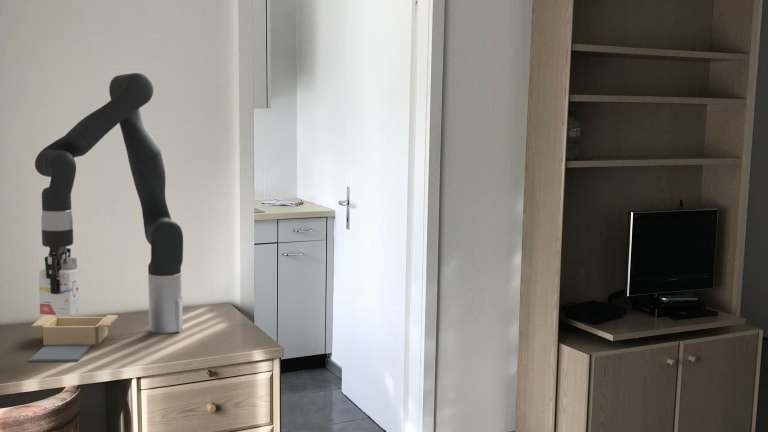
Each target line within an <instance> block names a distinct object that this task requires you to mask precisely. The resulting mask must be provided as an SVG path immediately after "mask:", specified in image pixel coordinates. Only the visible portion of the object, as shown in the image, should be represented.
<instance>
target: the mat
mask: <svg viewBox="0 0 768 432" xmlns="http://www.w3.org/2000/svg"><path fill="white" fill-rule="evenodd" d="M91 348H92V346H91V345H44V346H43V347H42V348H41V349H40V350H38V351H37V352H36V353H35V354H34V355H33V356H32V357H31V358H30V359H29V363H31V362H38V363H40V362H41V363H42V362H43V363H44V362H47V363H48V362H79V361H80V360H81V359H82V358H83V356H85V355H86V353H87V352H89V350H90V349H91Z"/></svg>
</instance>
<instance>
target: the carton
mask: <svg viewBox="0 0 768 432" xmlns="http://www.w3.org/2000/svg"><path fill="white" fill-rule="evenodd" d="M118 318H119V315H118V314H117V315H116V314H109V315H108V314H107V315H106V316H56V315H47V314H43V315H42V317H40V318H39V319H38V320H36V321H35V322H33V324H31V328H42V337H43V339H42V341H43V342H42V343H43V344H42V345H44V346H59V345H95V346H96V345H100V343H101V342H102V341H103V340H105V338H106V336H107V335H108V334H109V328H110V327H111V326H112V325H113V323H114V322H115V321H116V320H117V319H118Z"/></svg>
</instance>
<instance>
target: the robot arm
mask: <svg viewBox="0 0 768 432" xmlns="http://www.w3.org/2000/svg"><path fill="white" fill-rule="evenodd" d="M108 93H109V98H110V100H109V101H108V102H107V103H105V104H104V105H102V106H101V107H99V108H98V109H96V110H94V111H93V112H91V113H90V114H87V116H85V117H84V118H82V119H81V120H80V121H78V122H77V123H76V124H75V125H74V126H73V127H72V128H71V129H69V131H67V133H65V135H63V136H62V137H59V138H58V139H56V140H55V141H54V142H52V143H50V144H49V145H47V146H45V147H44V148H43V149H42V150H41V151H39V152H38V155H36V158H35V161H34V167H35V169H36V172H37V173H38V174H40V175H41V176H44V177H48V178H50V183H49V186H47V187H44V188H43V189H42V192H41V220H40V221H41V244H42V246H43V247H46V248H47V247H48V249H49V252H48V254H47V256H45V257H44V265H45V268H46V277H47V279H49V280H50V288H51V294H59V293H60V272H61V271H62V270H63V266H64V263H65V264H67V263H68V262H67V257H72V256H71V252H72V249H71V248H70V246H72V245H74V221H73V219H74V218H73V214H72V191H73V188H74V183H75V179H76V174H77V164H76V160H75V158H78V157H83V156H85V155H86V154H87V153H89V151H90V150H92V149H93V148H94V147H95V145H96V144H98V143H99V142H100V141H101V140H102V139H103V138H104V137H105V136H106V135H107V134H108V133H109V132H110V131H111V130H112V129H114V128H115V127H116V126H117V125H118V124H119V127H120V131H121V133H122V138H123V142H124V146H125V150H126V153H127V159H128V164H129V168H130V172H131V175H132V179H133V183H134V187H135V190H136V193H137V197H138V199H139V202H140V207H141V212H142V213H141V214H142V220H143V229H144V237H145V239H146V240H147V242H148V244H149V245H150V262H149V263H148V266H147V271H148V272H147V273H148V280H147V281H148V327H149V328H148V331H149V332H150V333H153V334H158V335H159V334H161V335H162V334H174V333H181V331H182V329H183V327H184V322H183V321H184V318H183V316H184V313H183V309H184V308H183V295H182V273H181V272H182V271H181V270H182V265H183V261H184V233H183V229H182V228H181V226H180V224H178V223H177V222H176V221H173V220H172V218H171V213H170V210H169V207H168V204H167V198H166V179H167V178H166V170H165V163H164V161H163V157H162V152H161V149H160V147H159V145H158V143H157V142H156V140H155V138H154V137H153V136H152V134H151V133H150V131H149V130H148V129H147V127H146V125H145V123H144V120H143V118H142V113H141V110H140V109H141V108H142V107H143V106H145V105H146V104H147V103H149V102H150V101H151V99H152V97H153V95H154V85H153V81H152V80H151V79H150V78H149V76H147V75H146V74H143V73H140V72H131V73H124V74H118V75H116V76H114V77H113V78H112V79H111V80H110V82H109V88H108ZM67 247H68V248H67ZM53 271H54V274H53Z"/></svg>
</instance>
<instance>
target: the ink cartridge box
mask: <svg viewBox="0 0 768 432" xmlns="http://www.w3.org/2000/svg"><path fill="white" fill-rule="evenodd" d="M67 262H68V263H67V264H65V263H64V266H63V270H62V271H61V272H60V293H59V294H51V288H50V280H49V279H47V277H46V267H45V268H42V269H41V270H39V272H38V273H39V274H38V275H39V276H38V280H39V282H38V283H39V285H38V286H39V288H38V289H39V314H40V315H55V316H61V317H72V315H75V314H76V313H78V312H79V309H80V306H79V305H80V304H79V270H78V259H77V257H72V256H71V257H67ZM53 274H54V271H53Z"/></svg>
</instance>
